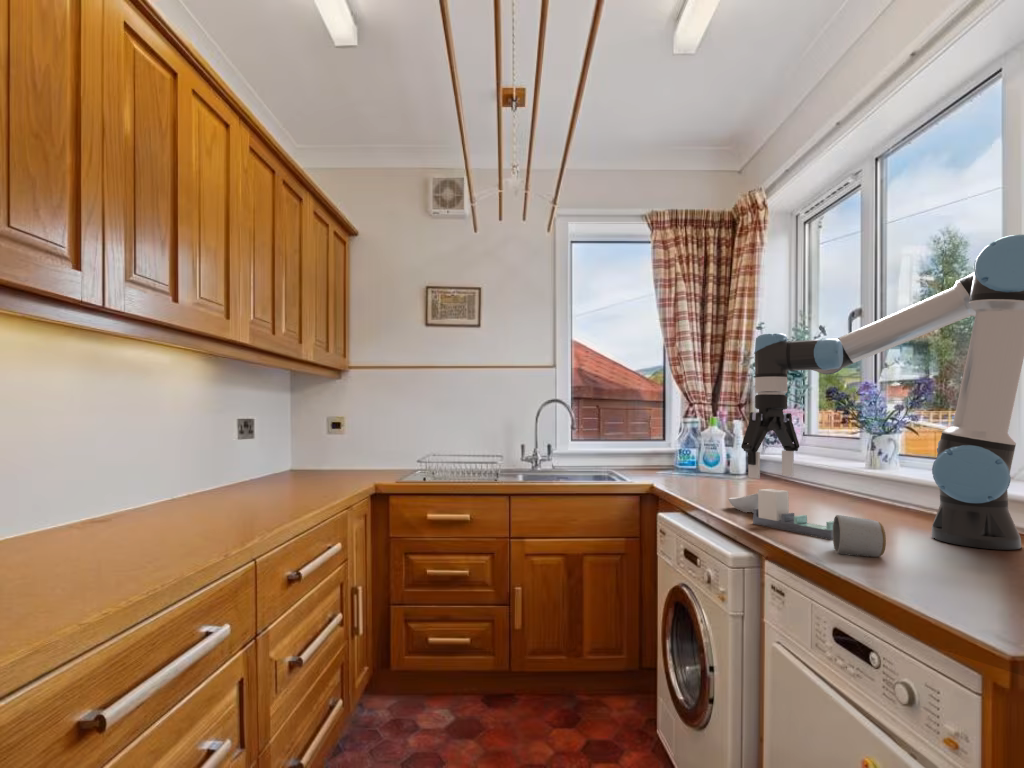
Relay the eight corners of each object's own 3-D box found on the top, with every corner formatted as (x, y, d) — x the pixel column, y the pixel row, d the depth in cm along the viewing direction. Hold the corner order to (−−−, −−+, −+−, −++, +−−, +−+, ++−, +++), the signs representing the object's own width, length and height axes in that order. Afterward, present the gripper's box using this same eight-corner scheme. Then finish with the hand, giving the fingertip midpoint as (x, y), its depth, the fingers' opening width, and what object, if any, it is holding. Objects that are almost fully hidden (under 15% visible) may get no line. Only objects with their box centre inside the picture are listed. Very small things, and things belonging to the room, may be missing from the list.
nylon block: (789, 519, 134) (788, 491, 134) (776, 520, 131) (776, 492, 132) (770, 515, 138) (770, 488, 139) (758, 517, 136) (758, 489, 136)
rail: (841, 537, 122) (840, 521, 122) (831, 539, 120) (830, 522, 120) (762, 522, 140) (762, 507, 140) (753, 523, 138) (752, 508, 138)
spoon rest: (721, 508, 162) (721, 484, 163) (759, 508, 163) (758, 484, 163) (761, 523, 139) (761, 496, 139) (805, 523, 139) (804, 496, 140)
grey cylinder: (888, 561, 102) (887, 521, 103) (840, 557, 105) (838, 517, 106) (872, 549, 112) (871, 513, 113) (828, 546, 115) (827, 510, 115)
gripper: (787, 395, 146) (787, 473, 145) (726, 392, 134) (726, 477, 133) (813, 395, 140) (814, 476, 138) (752, 392, 127) (752, 481, 126)
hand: (771, 477), depth 136 cm, fingers open, 13 cm apart
